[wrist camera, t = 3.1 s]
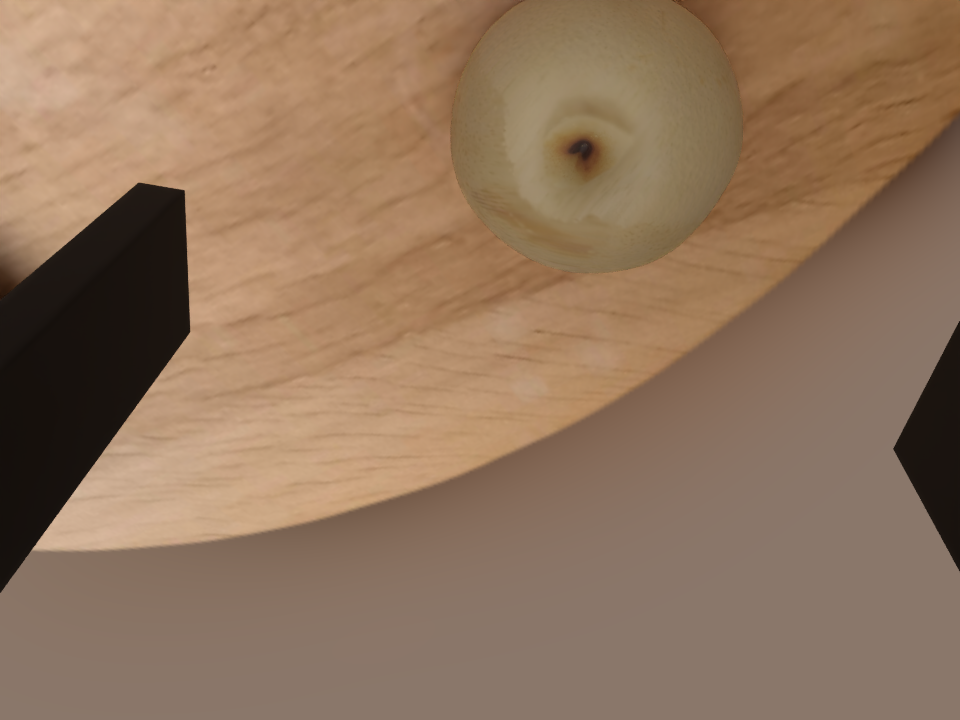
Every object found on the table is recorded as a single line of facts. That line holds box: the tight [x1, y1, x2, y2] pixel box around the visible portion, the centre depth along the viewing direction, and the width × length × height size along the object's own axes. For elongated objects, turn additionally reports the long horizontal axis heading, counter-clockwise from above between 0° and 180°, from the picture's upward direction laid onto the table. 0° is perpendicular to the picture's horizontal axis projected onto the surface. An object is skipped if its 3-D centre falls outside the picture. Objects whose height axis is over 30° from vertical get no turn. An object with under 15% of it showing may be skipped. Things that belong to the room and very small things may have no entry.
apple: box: [451, 0, 743, 273], centre depth 24 cm, size 8×8×8 cm
